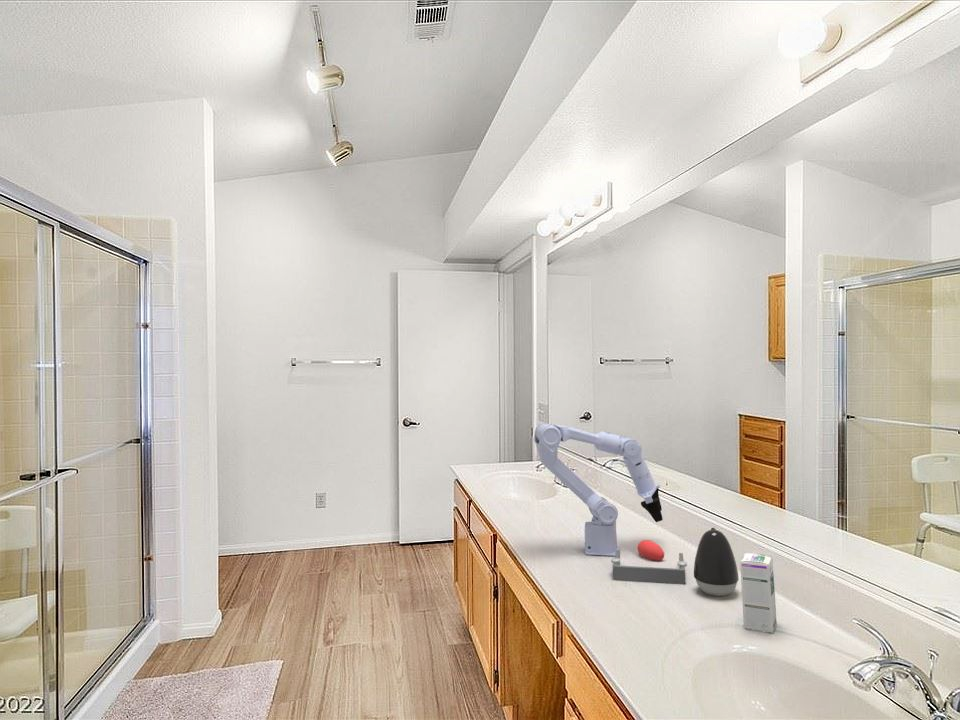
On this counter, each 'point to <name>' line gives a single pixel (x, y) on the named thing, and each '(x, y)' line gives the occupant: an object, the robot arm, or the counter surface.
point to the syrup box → (758, 592)
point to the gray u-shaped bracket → (649, 572)
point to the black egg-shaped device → (715, 564)
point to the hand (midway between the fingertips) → (659, 515)
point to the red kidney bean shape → (650, 550)
